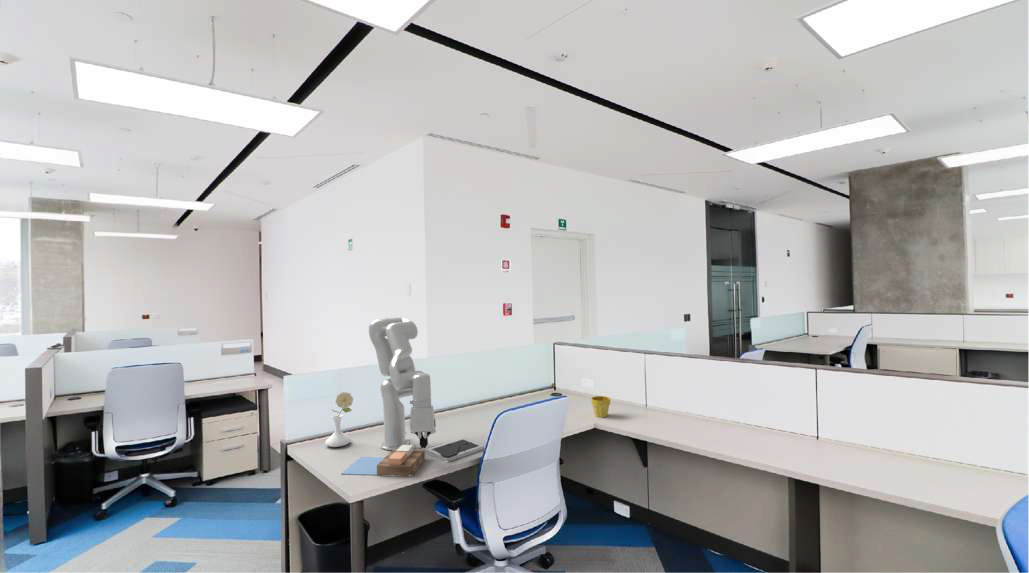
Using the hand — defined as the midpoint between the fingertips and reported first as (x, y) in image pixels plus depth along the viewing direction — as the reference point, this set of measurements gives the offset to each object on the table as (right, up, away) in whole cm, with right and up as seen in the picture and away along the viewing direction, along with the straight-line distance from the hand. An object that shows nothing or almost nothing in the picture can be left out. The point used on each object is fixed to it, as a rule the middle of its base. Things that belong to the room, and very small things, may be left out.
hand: (423, 447), depth 202 cm
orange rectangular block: (-9, -2, -7) cm, 12 cm away
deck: (-9, -7, -2) cm, 12 cm away
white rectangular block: (-8, -2, +1) cm, 9 cm away
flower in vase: (-45, -8, +26) cm, 52 cm away
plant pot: (+86, -4, +63) cm, 106 cm away
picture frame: (+12, -7, +14) cm, 20 cm away
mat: (-23, -8, -1) cm, 24 cm away
